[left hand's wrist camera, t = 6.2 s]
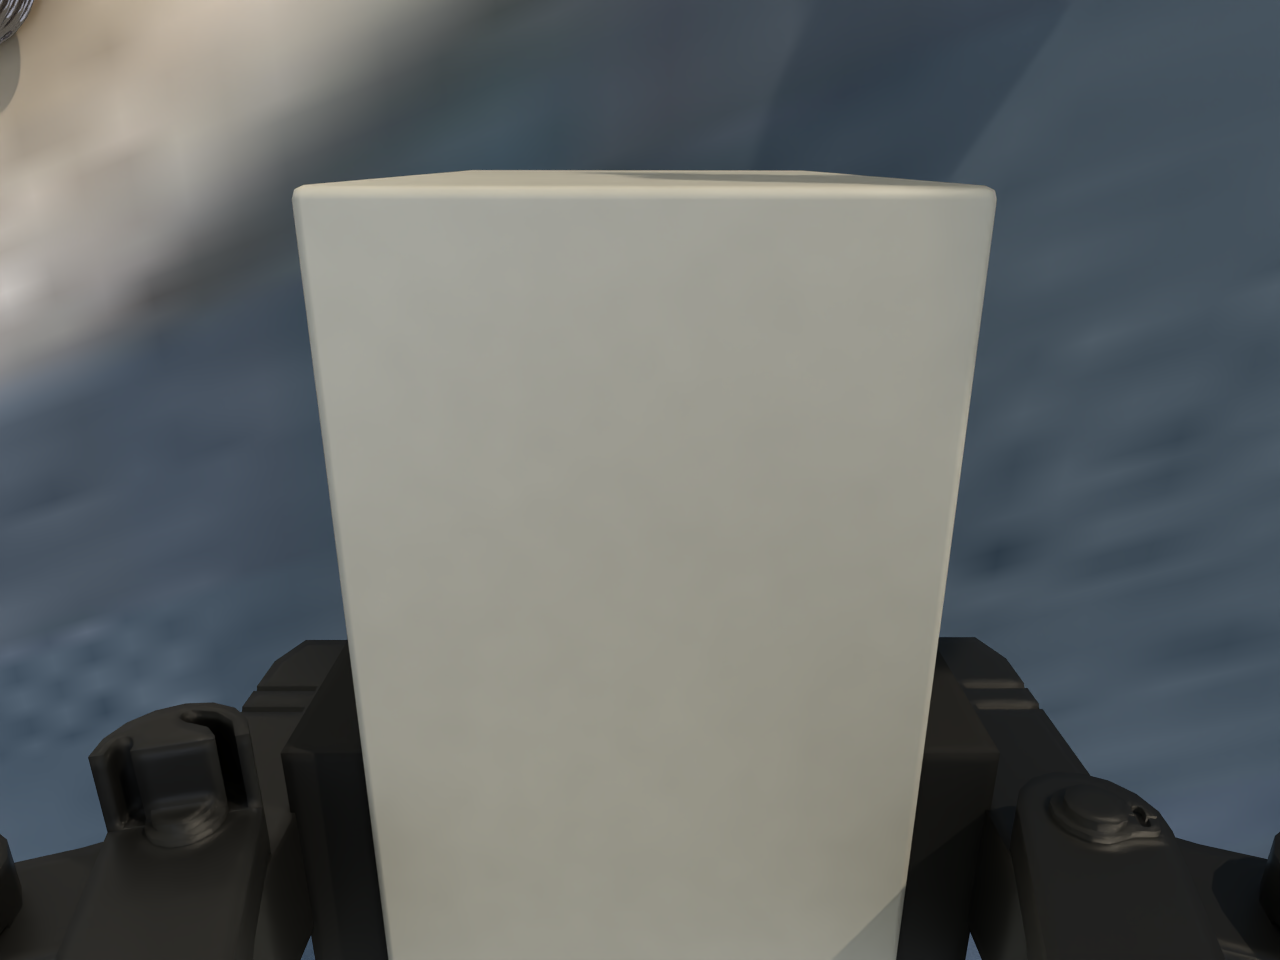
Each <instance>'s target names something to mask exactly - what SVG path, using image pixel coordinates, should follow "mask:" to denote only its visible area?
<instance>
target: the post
mask: <svg viewBox="0 0 1280 960" xmlns="http://www.w3.org/2000/svg"><path fill="white" fill-rule="evenodd" d="M996 202H997V198H996V194H995V191H994V190H993V189H991V188H989V187H987V186H982V185H970V184H958V183H946V182H934V181H922V180H910V179H898V178H886V177H874V176H862V175H849V174H837V173H825V172H813V171H694V170H470V171H458V172H447V173H435V174H424V175H412V176H401V177H390V178H378V179H367V180H355V181H344V182H332V183H321V184H310V185H303V186H300V187H298V188H296V189H295V190H294V193H293V197H292V203H293V211H294V219H295V227H296V235H297V243H298V251H299V259H300V266H301V274H302V282H303V290H304V298H305V306H306V314H307V322H308V329H309V337H310V345H311V353H312V361H313V369H314V377H315V385H316V393H317V400H318V408H319V416H320V424H321V432H322V440H323V448H324V456H325V464H326V471H327V479H328V487H329V495H330V503H331V511H332V519H333V527H334V534H335V542H336V550H337V558H338V566H339V574H340V582H341V590H342V598H343V605H344V613H345V621H346V629H347V637H348V645H349V653H350V661H351V669H352V676H353V684H354V692H355V700H356V708H357V716H358V724H359V732H360V740H361V747H362V755H363V763H364V771H365V779H366V787H367V795H368V803H369V810H370V818H371V826H372V834H373V842H374V850H375V858H376V866H377V874H378V881H379V889H380V897H381V905H382V913H383V921H384V929H385V937H386V945H387V952H388V960H896V956H897V949H898V941H899V934H900V926H901V919H902V911H903V903H904V896H905V888H906V881H907V873H908V866H909V858H910V851H911V843H912V836H913V828H914V820H915V813H916V805H917V798H918V790H919V783H920V775H921V768H922V760H923V753H924V745H925V737H926V730H927V722H928V715H929V707H930V700H931V692H932V685H933V677H934V669H935V662H936V654H937V647H938V639H939V632H940V624H941V617H942V609H943V602H944V594H945V586H946V579H947V571H948V564H949V556H950V549H951V541H952V534H953V526H954V519H955V511H956V503H957V496H958V488H959V481H960V473H961V466H962V458H963V451H964V443H965V436H966V428H967V420H968V413H969V405H970V398H971V390H972V383H973V375H974V368H975V360H976V353H977V345H978V337H979V330H980V322H981V315H982V307H983V300H984V292H985V285H986V277H987V270H988V262H989V254H990V247H991V239H992V232H993V224H994V217H995V209H996Z"/></svg>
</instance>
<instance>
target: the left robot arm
mask: <svg viewBox="0 0 1280 960" xmlns="http://www.w3.org/2000/svg"><path fill="white" fill-rule="evenodd" d="M88 759H89V762H90V766H91V770H92V774H93V778H94V782H95V786H96V789H97V793H98V797H99V801H100V805H101V809H102V812H103V816H104V820H105V824H106V828H107V832H108V833H107V835H106V838H105V840H104V842H101V843H97V844H94V845H90V846H87V847H84V848H79V849H75V850H70V851H66V852H61V853H57V854H52V855H48V856H43V857H39V858H34V859H30V860H25V861H20V862H16V863H14V861H13V858H12V855H11V851H10V848H9V845H8V842H7V839H5V838H4V837H3V836H2V835H1V834H0V960H301V957H302V955H303V952H304V950H305V948H306V945H307V943H308V941H309V938H310V936H311V937H312V943H313V949H314V954H315V960H388V952H387V945H386V937H385V929H384V921H383V913H382V905H381V897H380V889H379V881H378V874H377V866H376V858H375V850H374V842H373V834H372V826H371V818H370V810H369V803H368V795H367V787H366V779H365V771H364V763H363V755H362V747H361V740H360V732H359V724H358V716H357V708H356V700H355V692H354V684H353V676H352V669H351V661H350V653H349V645H348V640H305V641H304V642H302V643H301V644H300V645H298V646H297V647H295V648H294V649H292V650H291V651H289V652H288V653H286V654H285V655H283V656H282V657H281V658H279V659H278V660H276V661H275V662H274V663H273V665H272V666H271V668H270V669H269V670H268V672H267V673H266V675H265V676H264V677H263V679H262V680H261V682H260V683H259V684H258V686H257V691H253V693H252V694H251V696H250V697H249V698H248V700H247V701H246V703H245V704H244V705H243V707H242V712H239V711H238V710H237V709H236V708H234V707H230V706H225V705H221V704H217V703H188V704H182V705H177V706H173V707H169V708H164V709H160V710H156V711H153V712H151V713H149V714H146V715H144V716H142V717H139V718H137V719H134V720H132V721H130V722H127V723H126V724H124V725H123V726H121V727H120V728H118V729H117V730H115V731H114V732H112V733H111V734H110V735H108V736H107V737H105V738H104V739H103V740H102V741H101V742H100V743H99V744H98V746H97V747H96V748H95V749H94V751H93V752H92V753H91V754H90V756H89V757H88ZM970 933H971V935H972V937H973V940H974V942H975V944H976V947H977V949H978V951H979V954H980V956H981V959H982V960H1280V832H1279V833H1278V834H1277V835H1276V836H1275V838H1274V841H1273V844H1272V847H1271V851H1270V854H1269V857H1268V859H1264V858H1259V857H1255V856H1250V855H1245V854H1241V853H1236V852H1232V851H1227V850H1223V849H1218V848H1214V847H1209V846H1205V845H1200V844H1196V843H1193V842H1189V841H1186V840H1182V839H1179V838H1175V836H1174V834H1173V831H1172V830H1171V828H1170V827H1169V826H1168V824H1167V823H1166V821H1165V820H1164V818H1163V817H1162V816H1161V814H1160V813H1159V811H1157V810H1156V809H1155V808H1153V807H1152V806H1151V805H1150V804H1148V803H1147V802H1146V801H1144V800H1143V799H1142V798H1141V797H1139V796H1138V795H1137V794H1135V793H1133V792H1131V791H1129V790H1127V789H1125V788H1123V787H1121V786H1119V785H1116V784H1114V783H1112V782H1110V781H1108V780H1104V779H1100V778H1096V777H1092V776H1090V774H1089V773H1088V772H1087V770H1086V769H1085V767H1084V766H1083V765H1082V763H1081V762H1080V761H1079V759H1078V758H1077V756H1076V755H1075V754H1074V752H1073V751H1072V749H1071V748H1070V747H1069V745H1068V744H1067V742H1066V741H1065V740H1064V738H1063V737H1062V736H1061V734H1060V733H1059V731H1058V730H1057V729H1056V727H1055V726H1054V724H1053V723H1052V722H1051V720H1050V719H1049V717H1048V716H1047V715H1046V713H1045V712H1044V711H1043V709H1039V704H1038V702H1037V701H1036V699H1035V698H1034V697H1033V695H1032V694H1031V692H1030V691H1029V690H1028V688H1024V683H1023V681H1022V680H1021V679H1020V677H1019V676H1018V674H1017V673H1016V672H1015V670H1014V669H1013V667H1012V666H1011V665H1010V663H1009V662H1008V661H1007V659H1006V658H1004V657H1003V656H1002V655H1000V654H999V653H997V652H996V651H994V650H993V649H991V648H990V647H988V646H987V645H985V644H984V643H982V642H981V641H980V640H978V639H977V638H975V637H939V639H938V647H937V654H936V662H935V669H934V677H933V685H932V692H931V700H930V707H929V715H928V722H927V730H926V737H925V745H924V753H923V760H922V768H921V775H920V783H919V790H918V798H917V805H916V813H915V820H914V828H913V836H912V843H911V851H910V858H909V866H908V873H907V881H906V888H905V896H904V903H903V911H902V919H901V926H900V934H899V941H898V949H897V956H896V960H965V958H966V952H967V946H968V940H969V934H970Z"/></svg>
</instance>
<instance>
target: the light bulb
mask: <svg viewBox="0 0 1280 960" xmlns="http://www.w3.org/2000/svg"><path fill="white" fill-rule="evenodd" d="M33 1H34V0H0V44H1V43H3V42H4V41H6V40H7V39H8V38H10V37H11V36H12V35H13V34H14V33H15V32H16V31H17V30H18V29H19V27H20V26H21V25H22V24H23V22H24V21H25V19H26V18H27V16H28V14H29V12H30V10H31V7H32V3H33Z"/></svg>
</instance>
